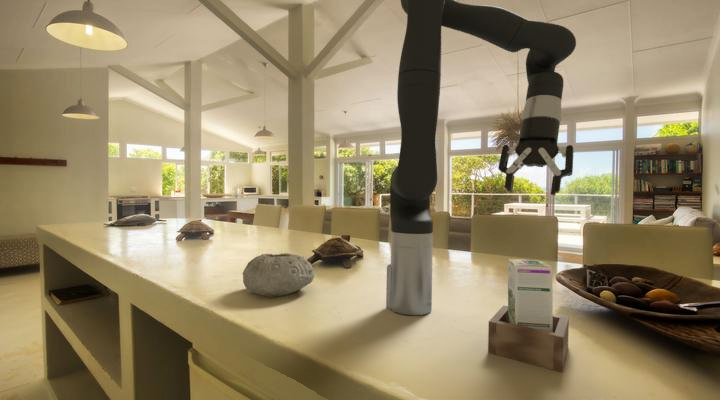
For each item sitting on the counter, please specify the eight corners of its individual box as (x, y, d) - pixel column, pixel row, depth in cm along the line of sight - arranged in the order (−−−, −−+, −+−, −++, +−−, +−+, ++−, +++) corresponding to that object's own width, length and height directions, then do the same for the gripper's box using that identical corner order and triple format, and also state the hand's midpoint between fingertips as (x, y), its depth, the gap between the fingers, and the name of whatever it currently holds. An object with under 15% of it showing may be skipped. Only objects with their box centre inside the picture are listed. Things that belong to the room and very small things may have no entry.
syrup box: (553, 358, 53) (555, 266, 53) (513, 354, 54) (514, 264, 54) (542, 343, 59) (544, 259, 59) (505, 340, 60) (507, 257, 60)
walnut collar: (488, 352, 55) (488, 321, 55) (503, 332, 63) (503, 305, 63) (562, 372, 49) (563, 337, 49) (568, 346, 57) (568, 317, 57)
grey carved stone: (261, 282, 98) (261, 247, 98) (321, 285, 95) (321, 249, 95) (228, 300, 80) (229, 258, 80) (301, 305, 78) (302, 261, 77)
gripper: (502, 116, 76) (492, 187, 75) (578, 112, 68) (567, 192, 66) (509, 127, 82) (500, 193, 81) (579, 126, 74) (570, 199, 72)
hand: (530, 193), depth 74 cm, fingers open, 8 cm apart
